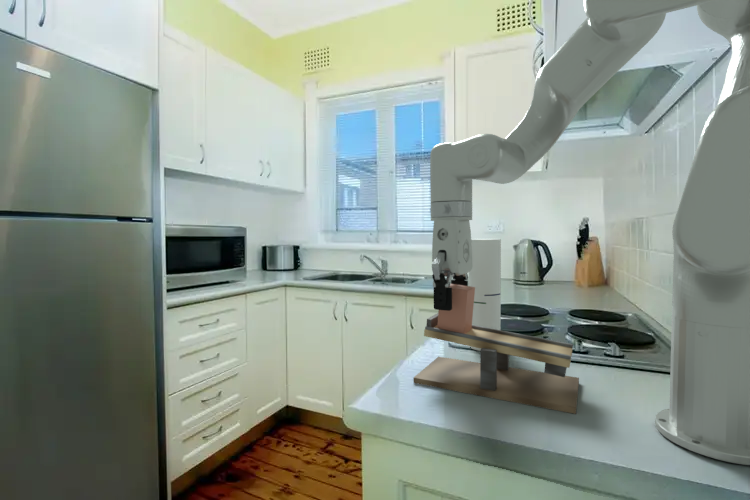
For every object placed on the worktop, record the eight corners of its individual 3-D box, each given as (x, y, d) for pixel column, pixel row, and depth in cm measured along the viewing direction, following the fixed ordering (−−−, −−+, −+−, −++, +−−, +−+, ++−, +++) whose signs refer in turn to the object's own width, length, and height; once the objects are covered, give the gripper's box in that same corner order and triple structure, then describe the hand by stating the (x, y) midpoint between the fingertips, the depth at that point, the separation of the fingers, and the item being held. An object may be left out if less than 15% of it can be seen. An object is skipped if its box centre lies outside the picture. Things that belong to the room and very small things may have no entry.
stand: (578, 383, 70) (579, 341, 70) (575, 413, 59) (576, 363, 58) (438, 361, 83) (438, 325, 82) (413, 382, 71) (413, 341, 71)
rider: (471, 329, 75) (475, 287, 74) (463, 335, 70) (467, 291, 69) (446, 324, 77) (449, 283, 76) (437, 329, 73) (440, 286, 72)
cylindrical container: (504, 351, 89) (504, 239, 87) (472, 351, 89) (472, 239, 87) (495, 342, 96) (495, 238, 94) (465, 342, 96) (465, 238, 95)
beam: (570, 364, 68) (573, 336, 68) (567, 380, 61) (571, 349, 61) (438, 336, 80) (440, 311, 79) (423, 346, 73) (425, 319, 72)
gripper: (456, 210, 63) (457, 316, 64) (483, 213, 79) (483, 298, 79) (413, 211, 67) (414, 312, 68) (446, 214, 82) (447, 296, 83)
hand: (451, 304), depth 74 cm, fingers open, 9 cm apart
